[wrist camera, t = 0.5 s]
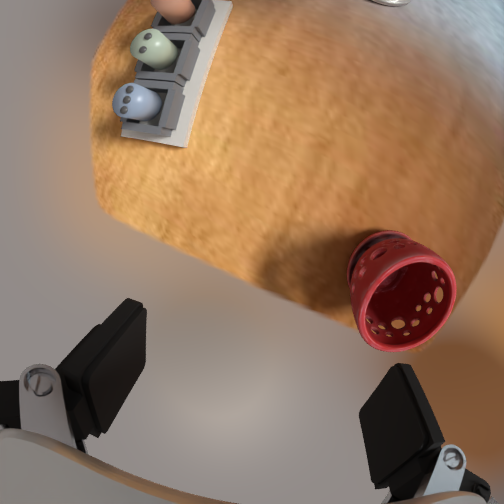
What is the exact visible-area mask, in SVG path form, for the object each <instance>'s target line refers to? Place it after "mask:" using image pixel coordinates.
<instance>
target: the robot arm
mask: <svg viewBox="0 0 504 504" xmlns="http://www.w3.org/2000/svg"><path fill="white" fill-rule="evenodd" d="M372 1H374V2H377V3H380V4H383V5H388V6H403V5H406V4H408V3H409V2H410V1H411V0H372ZM146 317H147V310H146V308H143V304H142V303H141V302H138V301H135V300H132V299H130V298H127V299H125V300H124V301H123V302H122V303H121V304H120V305H119V306H118V307H117V308H116V309H115V311H113V313H112V314H111V315H110V316H109V317H108V318H107V319H106V320H105V321H104V322H103V323H102V324H101V325H100V324H98V325H96V326H95V327H94V328H93V329H92V330H91V331H90V332H89V333H88V334H87V335H86V336H85V337H84V338H83V339H82V340H81V341H80V342H79V344H78V345H77V346H76V347H75V348H74V349H73V350H72V351H71V352H70V353H69V355H67V357H66V358H65V359H64V360H63V361H62V362H61V363H60V364H59V365H58V367H57V368H56V369H53V368H52V367H50V366H48V365H44V364H36V365H32V366H29V367H28V368H26V369H25V370H24V371H23V372H22V374H21V376H20V380H14V381H0V504H237V503H231V502H225V501H220V500H215V499H211V498H206V497H202V496H198V495H194V494H190V493H186V492H183V491H179V490H176V489H173V488H169V487H166V486H163V485H160V484H157V483H154V482H151V481H149V480H146V479H143V478H141V477H138V476H135V475H133V474H130V473H128V472H125V471H123V470H120V469H118V468H116V467H113V466H111V465H109V464H107V463H105V462H103V461H101V460H99V459H96V458H94V457H92V456H90V455H88V452H87V449H86V445H85V442H84V440H85V439H86V438H87V437H88V435H89V434H91V435H93V436H95V437H97V438H98V437H99V436H100V434H101V432H102V433H104V434H105V433H106V432H107V431H108V429H109V427H110V426H111V424H112V422H113V420H114V419H115V417H116V415H117V414H118V412H119V410H120V408H121V407H122V405H123V403H124V401H125V399H126V398H127V396H128V394H129V393H130V391H131V389H132V388H133V386H134V384H135V382H136V381H137V379H138V377H139V376H140V374H141V372H142V371H143V369H144V366H145V362H146ZM359 419H360V424H361V428H362V433H363V438H364V443H365V448H366V453H367V459H368V465H369V470H370V476H371V481H372V482H373V483H374V485H375V489H382V488H387V487H388V486H389V488H390V491H389V492H388V494H387V496H386V497H385V499H384V500H383V502H382V503H381V504H498V503H497V501H496V500H495V499H494V498H493V497H492V496H491V497H490V494H491V492H490V486H489V484H488V483H487V482H486V481H485V480H483V479H481V478H480V477H478V476H477V475H475V474H473V473H472V472H470V471H468V470H467V469H465V467H466V457H465V455H464V453H463V452H462V450H461V449H460V448H458V447H457V446H455V445H446V446H444V447H443V448H442V449H441V445H442V444H443V443H444V442H445V440H444V437H443V435H442V432H441V430H440V427H439V425H438V423H437V420H436V418H435V416H434V414H433V411H432V409H431V406H430V404H429V402H428V400H427V398H426V396H425V393H424V391H423V389H422V387H421V385H420V383H419V381H418V379H417V377H416V375H415V373H414V371H413V369H412V367H411V365H409V364H401V363H397V364H395V365H394V366H392V367H391V368H390V369H389V371H388V372H387V374H386V375H385V377H384V378H383V379H382V381H381V382H380V384H379V385H378V387H377V388H376V390H375V391H374V392H373V393H372V395H371V396H370V397H369V399H368V400H367V401H366V403H365V404H364V405H363V407H362V408H361V409H360V412H359Z"/></svg>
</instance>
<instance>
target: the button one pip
mask: <svg viewBox="0 0 504 504" xmlns="http://www.w3.org/2000/svg"><path fill="white" fill-rule="evenodd" d="M151 5H152V6H153V7H154V8H155V9H156V10H157V11H158V12H159V13H160V14H161V15H162V16H163V17H164V18H165V19H166V20H167V21H168V22H169V23H171V24H181V23H184V22H186V21H188V20H189V19H190V18H191V17H192V16H193V15H194V13H195V6H194V5H193V3H192V2H191V0H151Z"/></svg>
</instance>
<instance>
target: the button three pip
mask: <svg viewBox="0 0 504 504" xmlns="http://www.w3.org/2000/svg"><path fill="white" fill-rule="evenodd" d="M112 106H113V110H114V112H115V113H116V114H117V115H118V116H120V117H124V118H130V119H135V120H140V121H149V120H152V119H153V118H155V117H156V116H157V115H158V114H159V112H160V110H161V107H162V100H161V97H160V96H159V94H158V93H156V92H154V91H152V90H149V89H147V88H145V87H143V86H140V85H138V84H135V83H128V84H125V85H123V86H122V87H120V88H119V89H118V90H117V92H116V93H115V95H114V98H113V103H112Z"/></svg>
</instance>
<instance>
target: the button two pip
mask: <svg viewBox="0 0 504 504" xmlns="http://www.w3.org/2000/svg"><path fill="white" fill-rule="evenodd" d="M130 52H131V54H132V56H134V57H135V58H137V59H139V60H140V61H142V62H144V63H145V64H147V65H149V66H151V67H152V68H154V69H157V70H162V69H165V68H168V67H169V66H171V65H172V64H173V63H174V62H175V60H176V59H177V56H178V49H177V47H176V46H175V45H174V44H173V43H172V42H171V41H170V40H169V39H168V38H167V37H165V36H164V35H163V34H162V33H161V32H160V31H159V30H157V29H147V30H144V31H142V32H141V33H139V34H138V35H137V36H136V37H135V38H134V39H133V41H132V43H131V46H130Z"/></svg>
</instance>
